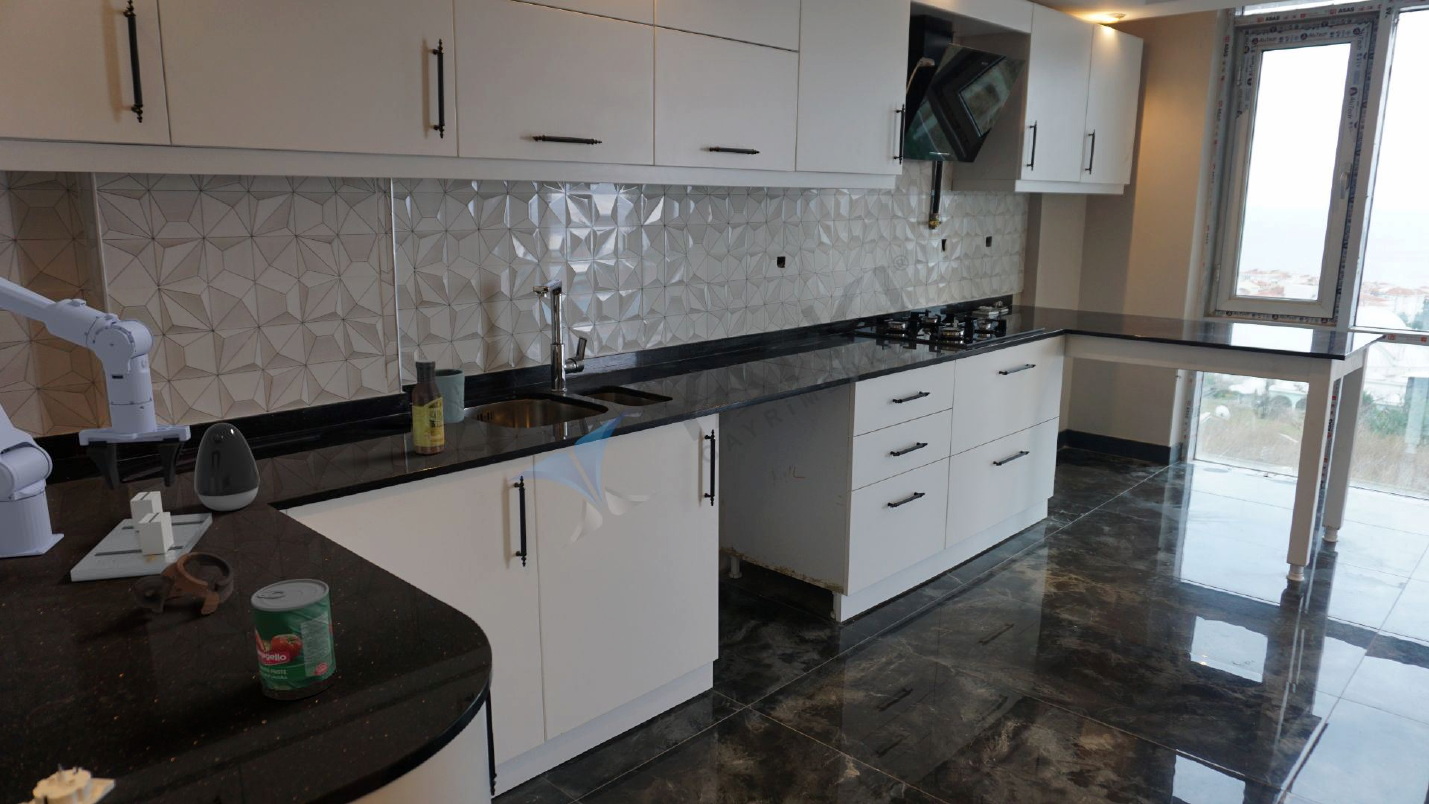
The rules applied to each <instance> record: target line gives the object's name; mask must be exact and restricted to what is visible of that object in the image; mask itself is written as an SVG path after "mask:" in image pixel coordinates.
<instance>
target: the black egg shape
mask: <svg viewBox="0 0 1429 804" xmlns="http://www.w3.org/2000/svg"><path fill="white" fill-rule="evenodd" d="M197 452H198V453H197V456H196V462H195V468H194V482H193V483H194V485H193V486H194V491H195V493H196V494H197V496H198V499H199V500H200V502H201V503H202V504H203V505H204V506H206V507H207V508H209V509H211V510H214V511H216V512H217V511H218V512H229V511H236V510H240V509H242V508H244V507H246V506H248V505H249V504H251V503H252V502H253V501H254V499H255V498H256V496H257V494H258V490H259V486H260V485H261V484H260V483H261V479H260V473H259V471H258V467H257V463H256V461H255V457H254V455H253V453H252V450H251V448H250V446H249V444H248V442H247V440H246V439H245V436H244V435H243V434H242V433H241V431H240V430H239V429H238V428H237V427H236V426H234V425H233V424H231V423H227V422H219V423H215V424H212V425H211V426H210V427H208V428H207V430H206V431H205V432H204V434H203V436H202V438H201V441H200V444H199V448H198V451H197Z"/></svg>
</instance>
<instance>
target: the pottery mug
mask: <svg viewBox="0 0 1429 804" xmlns="http://www.w3.org/2000/svg"><path fill="white" fill-rule="evenodd" d="M194 561H196V562H198V563H199V566H200V567H217V568H218V569H219V571H221V574H222V576H223V577H225V578H224V579H223V580H220V581H216V582H214V589H208V586H209V584H208V582H207V581H204V580H201V579H198V578H196V577H194V576H192V575H191V574H189V573H188V572H187V571H186V570H185V567H186V566H188V565H190V563H191V562H194ZM234 578H235V571H234V567H233V566H232V565H231V563H230V562H229V561H228V560H226V559H225V558H223V557H222V556H219V555H217V554H215V553H210V552H205V551H194V552H193V551H192V552H191V551H190V552H189V553H187V554H184V555H182V556H180V557H179V558H178V560H177V562H174V563H172V564H170V565H169V566H168V567H166V568H165V569H164V570H163V571H162V573H161V574H158V575H146V576H144V577H142V578H141V579H139V580H138V581H136V582H135V583H134V585H133V587H132V590H131V591H130V592H131V597H132V599H133V601H135V603H136V604H138V605H139V606H141V607H142V608H148V609H151V610H152V612H154V613H157V614H162V613H163V611H164V609H163V607H164V603H165V600H166V599H168V598H175V597H176V598H177V597H183V596H184V594H185V592H187V593H189V594H192V595H194V596H196V597H199V598H202V599H203V605H202V607H201V609H200V613H201V614H202V615H205V614H209V613H211V612H214V613H215V611H217V609H218V606H219V605H223V604H224V603H225V602H226V601H227V599H229V597H230V596H232V595H231V594H233V593H232V592H233V591H234V580H233V579H234ZM151 590H152V593H151V594H150V595H146V594H147V592H148V591H151Z"/></svg>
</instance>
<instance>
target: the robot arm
mask: <svg viewBox="0 0 1429 804" xmlns="http://www.w3.org/2000/svg"><path fill="white" fill-rule="evenodd" d="M86 304H87V301H86V300H83V299H82V298H72V299H71V298H66V299H62V300H60V301H54V300H52V299H49V298H47V297H45V296H43V295H40V294H38V293H36V292H34V291H32V290H30V289H28V288H25V287H23V286H21V285H19V284H16V283H14V282H12V281H10V280H7V279H6V278H3V277H1V276H0V309H3V310H7V311H10V312H12V313H16V314H18V315H22V316H24V317H27V318H30V319H33V320H36V321H39V322H42V323H44V325H45V327H46V329H47V331H48V333H50V334H51V335H53V336H55V337H58V338H61V339H63V340H66V341H68V342H71V343H73V344H76V345H79V346H81V347H83V348H86V349H88V350H91V351H93V353H94V355H95V356H96V357H97V358H98V359H99V361H101V363H102V368H103V371H104V374H105V383H106V389H107V390H106V391H107V397H108V398H107V399H108V405H109V412H110V413H109V414H110V421H111V427H104V428H103V427H102V428H94V429H93V428H92V429H83V430H81V431H80V432H78V438H79V444H80V446H88V447H87V449H85V450H86V455H87V456H88V457H89V458H90V459H91V460H92V461H93V463H94V464H95V465H96V466H97V468H98V469H99V471H100V472H101V474H102V475H103V478H104V479H105V482H106V484H107V488H108V489H109V491H116V489H118V488H119V487H120V477H119V471H118V463H117V443H134V442H136V443H137V442H138V443H139V442H156V441H157V442H158V441H159V442H160V441H161V443H160V444H158V445H157V450H158V453H159V456H160V460H161V465H162V471H163V483H164V487H165V488H170V487H172V486H173V485H175V479H176V478H175V477H176V469H177V466H178V461H179V457H180V454H181V452H182V449H183V448H184V445H185V443H186V441H188V440H189V439H191V430H190V429H191V428H190V425H173V424H171V425H169V424H168V425H167V424H157V420H156V412H155V403H154V395H153V394H154V393H153V386H152V384H153V383H152V377H151V370H150V361H149V354H148V353H149V352H150V351H151V350H152V349H153V347H154V344H155V343H154V341H155V339H154V338H155V337H154V335H153V332H152V330H151V329H150V328H149V327H148V326H147V325H146V324H145V323H143V322H141V321H140V320H139V319H137V318H127V319H123V320H120V319H119V318H118V317H119V316H118V315H117V314H115V313H112V312H110V313H105V312H103V311H101V310H97V309H95V308H92V307H90V306H88V305H86ZM162 441H163V442H162ZM52 469H53V463H52V458H51V456H50V455H49V453H48V452H47V451H46V450H45V449H44V448H42V447H40V445H38V444H37V442H36V441H35V440H34V438H33V436H32V435H31V434H30V433H28V432H25V431H24V430H21V429H19V428H17V427H14V426H13V424H12V421H11V420H10V419H9V417H8V415H7V414H6V412H5V410H4V408H3V406H2V404H1V403H0V558H11V557H24V556H26V557H27V556H36V555H38V556H39V555H44V554H45V553H46V552H48V551H49V550H50V549H51V548H52V547H54V546H55V545H56V544H57V543H58V542H60V540H62V538H64V533H52V525H51V520H50V514H49V513H50V511H49V509H48V500H47V494H46V489H45V487H46V486H47V483H46V479H48V477H49V476H50V475H51V473H52Z"/></svg>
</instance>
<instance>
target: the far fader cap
mask: <svg viewBox="0 0 1429 804" xmlns="http://www.w3.org/2000/svg"><path fill="white" fill-rule="evenodd" d="M129 502H130V511H131V517H132V518H131V519H133V526H134V531H139V527H138V523H139V522H140V521H141V520H142V519H143V518H144V517H145V516H146V515H147V514H148V513H158V512H159V513H162V512H164V510H163V505H162V497H161V491H160V490H158V491H144V492H142V491H141V492H138V493H137V494H136V495H135V496H134V497H133V498H131V500H129Z"/></svg>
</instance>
